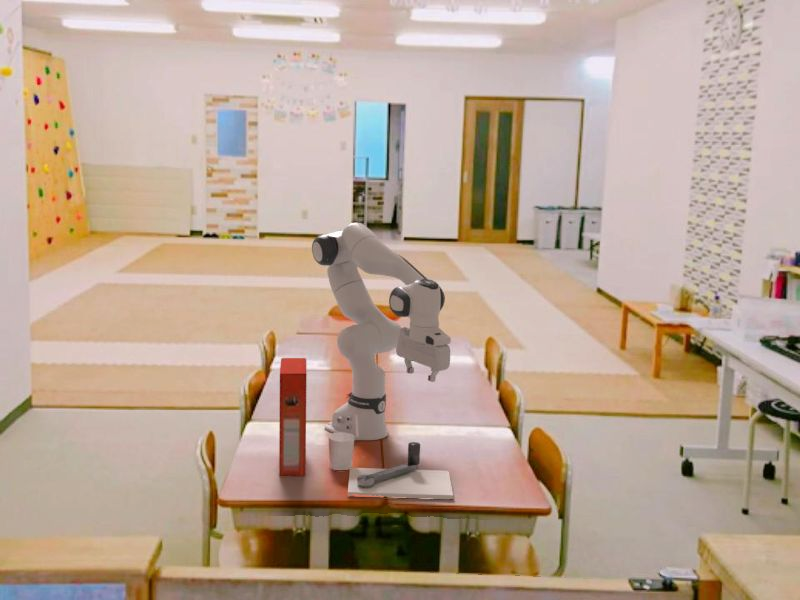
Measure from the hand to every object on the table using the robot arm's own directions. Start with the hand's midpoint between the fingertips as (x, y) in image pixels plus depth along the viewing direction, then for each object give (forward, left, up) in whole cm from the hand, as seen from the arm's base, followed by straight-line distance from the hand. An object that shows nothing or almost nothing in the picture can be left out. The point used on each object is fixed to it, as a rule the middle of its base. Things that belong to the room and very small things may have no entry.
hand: (420, 377), depth 265 cm
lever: (+1, -15, -27) cm, 31 cm away
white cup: (-17, -16, -29) cm, 38 cm away
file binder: (-29, -25, -29) cm, 48 cm away
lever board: (+5, -15, -29) cm, 33 cm away
